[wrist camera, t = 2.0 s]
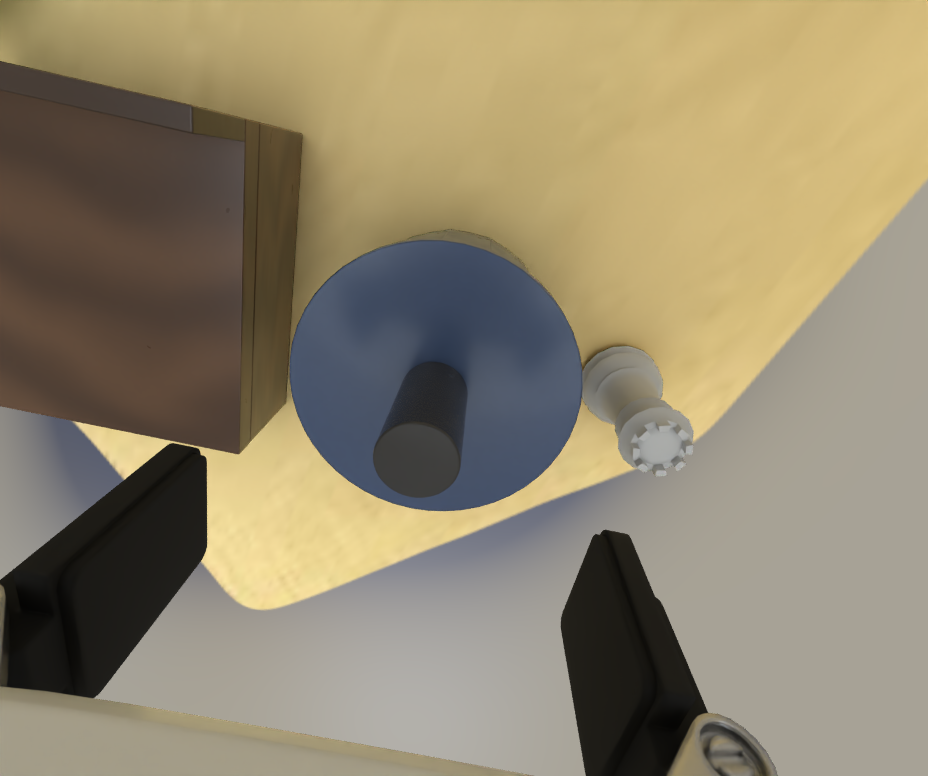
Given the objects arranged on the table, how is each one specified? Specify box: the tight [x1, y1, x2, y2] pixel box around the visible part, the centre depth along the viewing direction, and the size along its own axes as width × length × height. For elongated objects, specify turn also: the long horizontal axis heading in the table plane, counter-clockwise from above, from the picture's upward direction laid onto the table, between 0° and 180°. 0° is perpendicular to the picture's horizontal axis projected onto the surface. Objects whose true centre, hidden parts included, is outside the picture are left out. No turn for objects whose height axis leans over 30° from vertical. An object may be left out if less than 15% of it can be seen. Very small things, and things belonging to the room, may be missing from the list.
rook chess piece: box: [582, 346, 694, 476], centre depth 24 cm, size 4×4×8 cm
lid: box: [290, 238, 583, 511], centre depth 17 cm, size 11×11×6 cm
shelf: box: [0, 61, 302, 454], centre depth 22 cm, size 15×14×10 cm
